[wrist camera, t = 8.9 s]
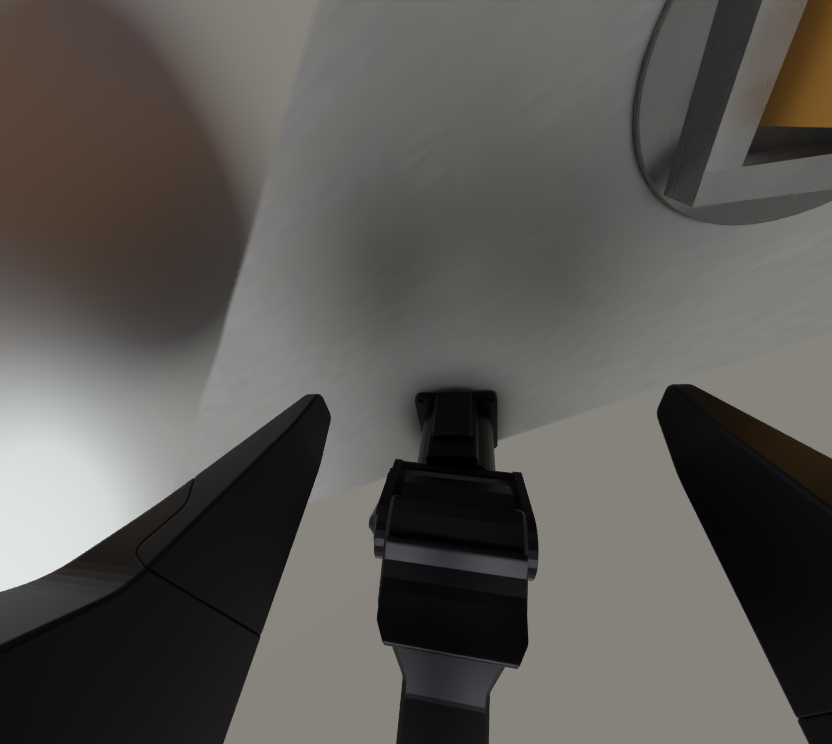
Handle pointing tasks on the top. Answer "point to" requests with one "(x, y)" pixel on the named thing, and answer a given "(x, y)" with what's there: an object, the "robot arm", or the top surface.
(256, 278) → the top surface
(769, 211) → the rosette collar
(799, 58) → the orange rectangular block
